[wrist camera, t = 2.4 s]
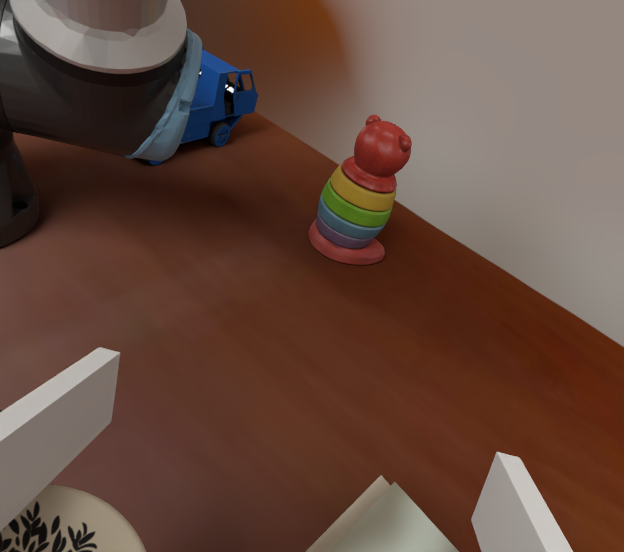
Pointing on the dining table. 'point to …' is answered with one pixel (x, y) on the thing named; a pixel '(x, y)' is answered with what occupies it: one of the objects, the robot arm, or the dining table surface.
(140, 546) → the travel mug
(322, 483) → the dining table surface
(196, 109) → the toy vehicle
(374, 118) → the stacking bear
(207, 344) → the dining table surface
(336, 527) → the plinth
